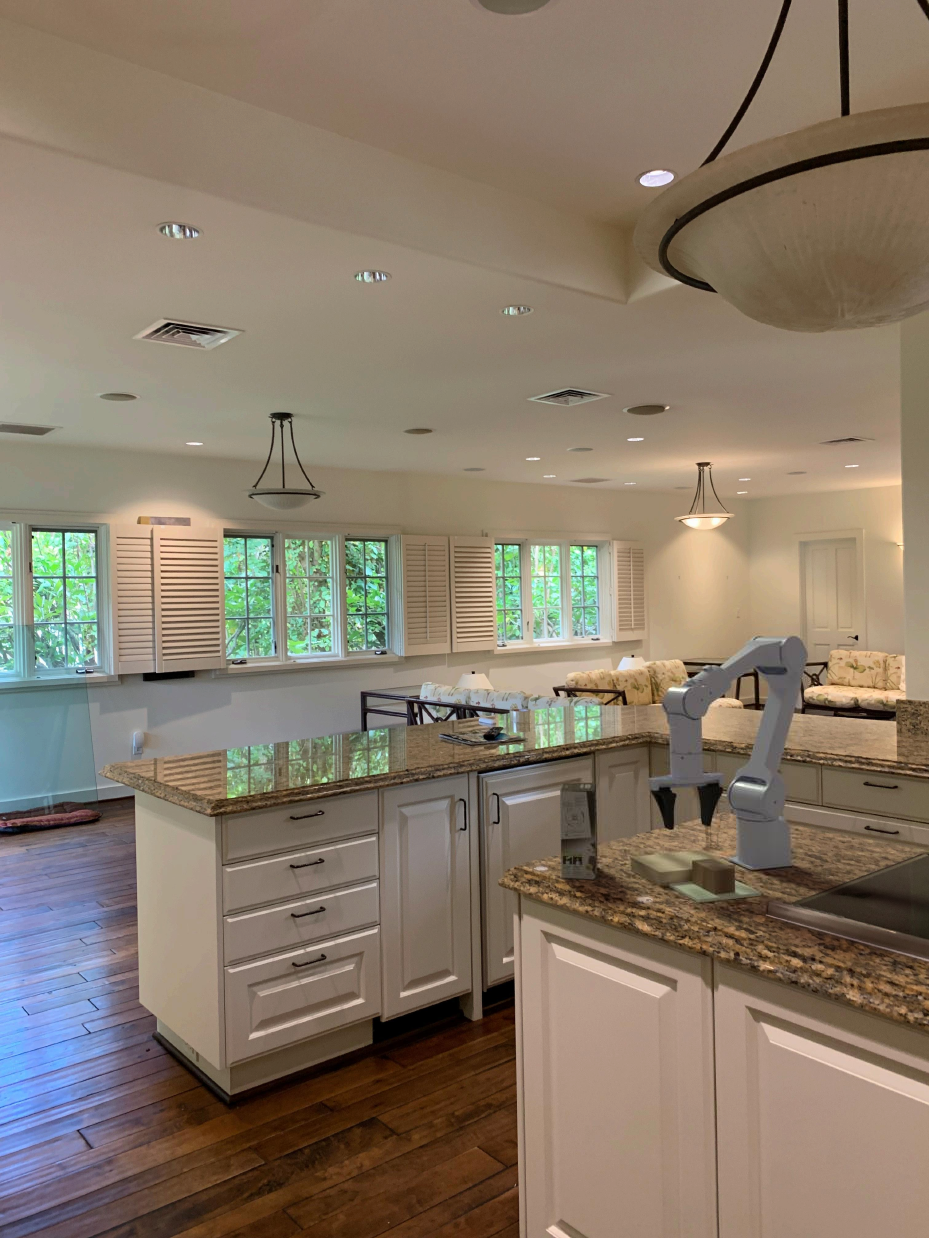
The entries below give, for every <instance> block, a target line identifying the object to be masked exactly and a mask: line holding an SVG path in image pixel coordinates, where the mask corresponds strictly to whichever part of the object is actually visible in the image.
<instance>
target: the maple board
mask: <svg viewBox="0 0 929 1238" xmlns="http://www.w3.org/2000/svg"><path fill="white" fill-rule="evenodd" d="M702 859H714V860H717V861H719V862H721V863H723V864H725V865H728V866H730V867H732V868H734V869H735V863H733V862H731V861H727V860H725V859H722V858H720V857H718V856H715V855H713V854H711V853H709V852H707V851H704V850H703V849H698V850H690V851H678V852H669V853H657V854H648V855H637V856H636V855H635V856H631V857H630V870H631V872H634V873H636V874H637V875H639V876H641V877H642V878H644V879H645V880H647V881H649V882H651V883H653V884H655V885H656V886H658V887H659V888H660V887H669V884H672V883H681V882H690V881H692V860H702Z"/></svg>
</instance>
